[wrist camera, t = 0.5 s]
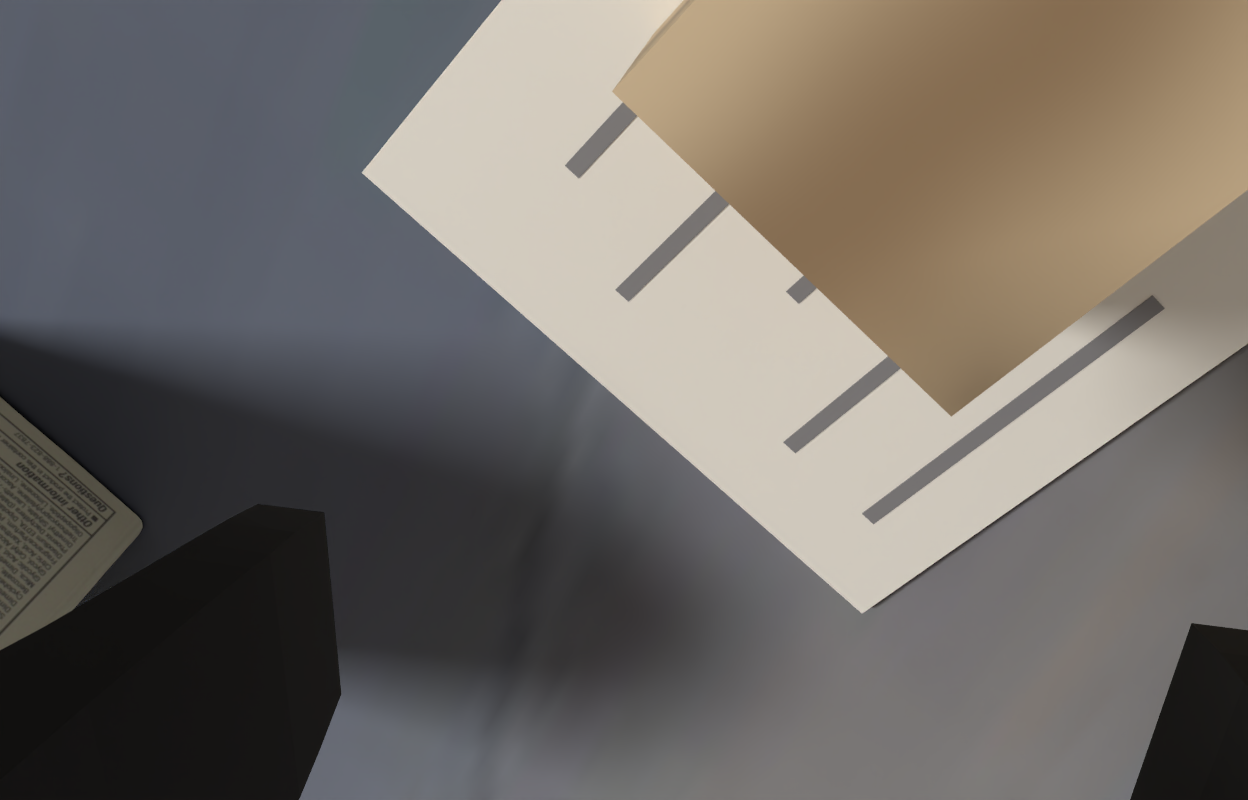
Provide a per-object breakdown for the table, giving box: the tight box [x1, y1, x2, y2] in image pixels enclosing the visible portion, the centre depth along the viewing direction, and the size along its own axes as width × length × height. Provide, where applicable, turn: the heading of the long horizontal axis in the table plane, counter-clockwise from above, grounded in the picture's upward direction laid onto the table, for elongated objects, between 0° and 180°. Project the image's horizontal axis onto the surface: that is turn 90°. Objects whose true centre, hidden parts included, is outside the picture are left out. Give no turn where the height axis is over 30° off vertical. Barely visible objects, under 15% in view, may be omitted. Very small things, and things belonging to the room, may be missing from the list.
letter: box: [362, 0, 1248, 613], centre depth 17 cm, size 12×16×1 cm
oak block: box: [612, 0, 1248, 417], centre depth 15 cm, size 6×6×4 cm
